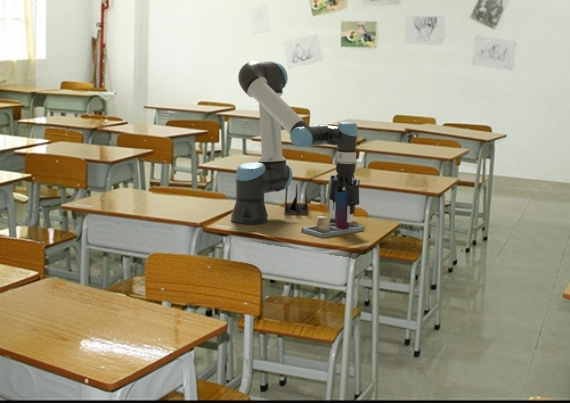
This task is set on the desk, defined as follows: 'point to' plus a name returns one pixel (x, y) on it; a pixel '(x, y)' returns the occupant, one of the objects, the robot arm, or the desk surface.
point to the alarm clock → (330, 202)
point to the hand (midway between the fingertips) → (343, 220)
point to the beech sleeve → (323, 224)
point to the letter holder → (296, 205)
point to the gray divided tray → (332, 230)
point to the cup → (341, 209)
